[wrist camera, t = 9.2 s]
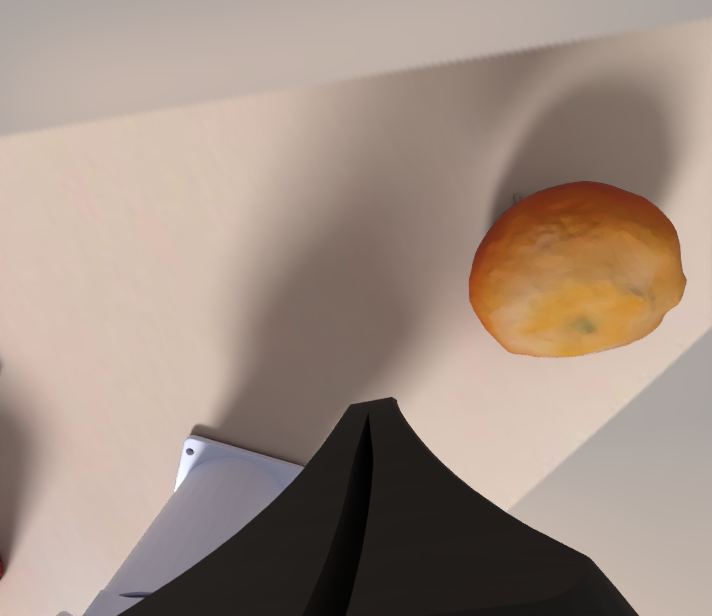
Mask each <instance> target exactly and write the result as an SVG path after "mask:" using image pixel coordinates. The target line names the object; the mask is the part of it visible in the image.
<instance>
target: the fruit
mask: <svg viewBox="0 0 712 616" xmlns="http://www.w3.org/2000/svg"><path fill="white" fill-rule="evenodd" d="M513 197H514V199H515V202H516V204H515V205H514V206H513V207H511V208H510V209H508V210H507V211H506V212H504V213H503V214H502V215H501V217H500V218H499V219H498V220H497V221H496V222H495V224H494V225H493V226H492V227H491V229H490V230H489V231H488V233H487V234H486V236H485V237H484V239H483V240H482V242H481V244H480V245H479V247H478V249H477V251H476V254H475V257H474V260H473V265H472V270H471V274H470V278H469V299H470V303H471V305H472V307H473V309H474V311H475V313H476V315H477V316H478V318H479V320H480V321H481V323H482V324H483V326H484V327H485V329H486V330H487V331H488V332H489V333H490V334H491V335H492V336H493V337H494V338H495V339H496V340H497V341H498V342H499V343H500V344H501V345H502V346H503V347H504V348H505V349H506V350H507V351H508V352H510V353H513V354H521V355H530V356H534V357H556V358H558V357H577V356H584V355H588V354H593V353H598V352H602V351H606V350H610V349H614V348H618V347H621V346H625V345H628V344H630V343H632V342H634V341H637V340H640V339H642V338H644V337H645V336H647V335H648V334H650V333H651V332H652V331H653V330H654V329H656V328H657V327H658V326H659V325H660V323H661V322H662V319H663V317H664V315H665V314H666V313H667V312H668V311H669V310H670V309H672V308H673V307H675V306H676V305H678V304H679V302H680V301H681V298H682V296H683V293H684V289H685V286H686V278H685V275H684V273H683V270H682V263H681V252H680V243H679V239H678V235H677V231H676V230H675V228H674V226H673V224H672V223H671V221H670V220H669V219H668V218H667V217H666V216H665V215H664V213H663V212H662V211H661V210H660V209H659V208H658V207H656V206H655V205H654V204H652V203H651V202H650V201H648V200H647V199H645V198H643V197H641V196H638V195H635V194H633V193H630V192H627V191H624V190H622V189H619V188H616V187H614V186H611V185H607V184H603V183H598V182H590V181H580V182H573V183H568V184H563V185H559V186H555V187H551V188H548V189H545V190H542V191H539V192H537V193H534V194H532V195H530V196H528V197H526V198H524V199H523V200H521V198H520V197H519V195H518V193H517V194H516V195H515V194H514V196H513Z"/></svg>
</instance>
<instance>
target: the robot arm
mask: <svg viewBox="0 0 712 616" xmlns="http://www.w3.org/2000/svg"><path fill="white" fill-rule="evenodd" d="M189 448H191V449H193V451H191V450H190V449H189ZM56 616H73V615H71V614H70V613H68V612H67V611H62V612H60V613H59V614H58V615H56ZM83 616H639V615H638V614H637V613H636V612H635V610H634V609H633V608H632V607H631V605H630V604H629V603H628V602H627V600H626V599H625V598H624V597H623V596H622V594H621V593H620V592H619V591H618V590H617V588H616V587H615V586H614V585H613V584H612V582H611V581H610V580H609V579H608V578H607V577H606V576H605V575H604V573H603V572H602V571H601V570H600V569H599V567H598V566H597V565H596V564H595V563H594V562H593V561H592V560H591V559H590V558H589V557H587V556H586V555H584V554H582V553H580V552H578V551H576V550H574V549H572V548H570V547H568V546H566V545H564V544H562V543H560V542H558V541H556V540H554V539H553V538H551V537H549V536H547V535H545V534H543V533H541V532H539V531H537V530H535V529H533V528H531V527H529V526H528V525H526V524H524V523H522V522H521V521H519V520H518V519H516V518H514V517H513V516H511V515H509V514H508V513H506V512H505V511H503V510H502V509H500V508H499V507H498V506H496V505H495V504H493V503H492V502H491V501H489V500H488V499H486V498H485V497H483V496H482V495H481V494H479V493H478V492H476V491H475V490H473V489H472V488H471V487H470V486H468V485H467V484H466V483H465V482H464V481H462V480H461V479H460V478H459V477H458V476H456V475H455V474H454V473H453V472H452V471H451V470H450V469H449V468H447V467H446V466H445V465H444V464H443V463H442V462H441V461H440V460H439V459H438V458H437V457H436V456H435V455H434V454H433V453H432V452H431V451H430V450H429V448H428V447H427V446H426V445H425V444H424V443H423V442H422V441H421V439H420V438H419V437H418V436H417V434H416V433H415V432H414V430H413V429H412V428H411V426H410V425H409V424H408V422H407V421H406V419H405V418H404V416H403V414H402V413H401V411H400V409H399V407H398V404H397V400H396V399H394V398H393V397H389V398H384V399H378V400H373V401H367V402H362V403H357V404H351V405H350V406H349V407H348V409H347V410H346V412H345V413H344V415H343V416H342V418H341V419H340V421H339V422H338V424H337V425H336V427H335V428H334V429H333V431H332V432H331V434H330V435H329V437H328V438H327V439H326V441H325V442H324V444H323V445H322V446H321V448H320V449H319V450H318V451H317V453H316V454H315V455H314V456H313V458H312V459H311V460H310V461H309V463H308V464H307V465H306V466H305V467H303V466H300V465H296V464H293V463H289V462H286V461H282V460H279V459H276V458H272V457H269V456H265V455H262V454H258V453H255V452H251V451H248V450H245V449H241V448H238V447H234V446H231V445H227V444H224V443H220V442H217V441H214V440H210V439H207V438H203V437H200V436H196V435H190V436H189V437H187V439H186V440H185V441H184V445H183V450H182V455H181V459H180V464H179V469H178V474H177V478H176V483H175V488H174V493H173V495H172V496H171V498H170V499H169V501H168V502H167V503H166V505H165V506H164V507H163V509H162V510H161V512H160V513H159V514H158V516H157V517H156V518H155V520H154V521H153V523H152V524H151V525H150V527H149V528H148V530H147V531H146V532H145V534H144V535H143V536H142V538H141V539H140V541H139V542H138V543H137V545H136V546H135V547H134V549H133V550H132V552H131V553H130V554H129V556H128V557H127V558H126V560H125V561H124V563H123V564H122V565H121V567H120V568H119V570H118V571H117V572H116V574H115V575H114V576H113V578H112V579H111V581H110V582H109V583H108V585H107V586H106V587H105V589H104V590H101V591H100V593H99V594H98V595H97V597H96V598H95V599H94V601H93V602H92V603H91V605H90V606H89V608H88V609H87V610H86V612H85V613H84V614H83Z"/></svg>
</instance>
